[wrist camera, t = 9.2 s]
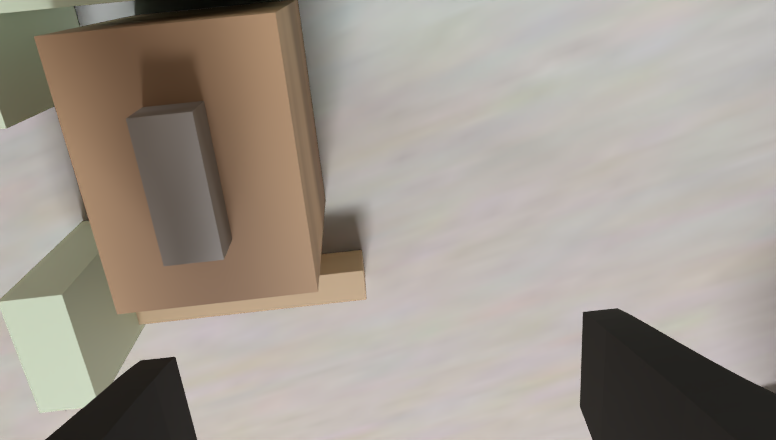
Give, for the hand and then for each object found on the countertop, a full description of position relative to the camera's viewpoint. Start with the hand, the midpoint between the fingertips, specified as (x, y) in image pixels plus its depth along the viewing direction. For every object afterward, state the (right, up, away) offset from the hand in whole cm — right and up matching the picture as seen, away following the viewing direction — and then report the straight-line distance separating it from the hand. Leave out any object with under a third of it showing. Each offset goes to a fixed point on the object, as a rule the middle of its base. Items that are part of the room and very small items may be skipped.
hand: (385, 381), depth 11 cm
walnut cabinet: (-4, +6, +7) cm, 10 cm away
